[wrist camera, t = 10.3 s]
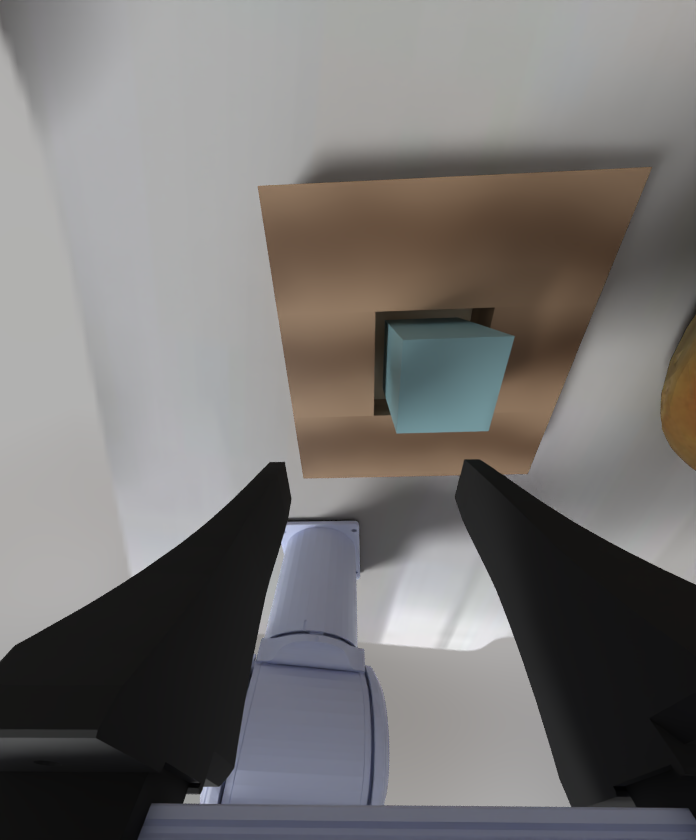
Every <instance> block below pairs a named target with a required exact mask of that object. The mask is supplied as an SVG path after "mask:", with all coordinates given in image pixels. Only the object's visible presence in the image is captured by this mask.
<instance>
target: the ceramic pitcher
mask: <svg viewBox="0 0 696 840" xmlns="http://www.w3.org/2000/svg"><path fill="white" fill-rule="evenodd" d="M660 414H661V421H662V430H663V432H664V434H665V437H666V439H667V441H668V443H669V444H670V446H671V448H672V449H673V450H674V451H675V453H676V454H677V455H678V456H679V457H680V458H681V459H682V460H683V461H684V462H685V463H687V464H688V465H689V466H690V467H691V468H693V469H694V470H695V471H696V315H695V317H694V318H693V320H692V321H691V322H690V324H689V325H688V327H687V329H686V331H685V333H684V335H683V337H682V339H681V341H680V343H679V345H678V347H677V349H676V350H675V352H674V354H673V356H672V358H671V360H670V364H669V368H668V371H667V375H666V379H665V382H664V386H663V390H662V394H661V412H660Z"/></svg>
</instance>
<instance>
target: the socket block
mask: <svg viewBox="0 0 696 840" xmlns="http://www.w3.org/2000/svg"><path fill="white" fill-rule="evenodd" d="M651 169H652V167H641V168H620V169H600V170H579V171H558V172H537V173H517V174H496V175H475V176H455V177H434V178H413V179H392V180H372V181H351V182H330V183H309V184H289V185H268V186H258V191H259V198H260V204H261V210H262V217H263V223H264V230H265V236H266V242H267V249H268V255H269V261H270V268H271V274H272V280H273V287H274V293H275V300H276V306H277V312H278V319H279V325H280V331H281V338H282V344H283V351H284V357H285V363H286V370H287V376H288V382H289V389H290V395H291V401H292V408H293V414H294V421H295V427H296V433H297V440H298V446H299V452H300V459H301V465H302V472H303V478H349V477H399V476H449V475H460V474H461V470H462V466H463V462H464V459H480V460H482V461H483V462H485V463H486V464H488V465H489V466H491V467H492V468H494V469H495V470H497V471H498V472H499V473H501V474H528V472H529V469H530V467H531V464H532V462H533V459H534V457H535V454H536V452H537V449H538V447H539V444H540V442H541V440H542V437H543V435H544V432H545V430H546V427H547V425H548V422H549V420H550V417H551V415H552V412H553V410H554V408H555V405H556V403H557V400H558V398H559V395H560V393H561V390H562V388H563V385H564V383H565V380H566V378H567V376H568V373H569V371H570V368H571V366H572V363H573V361H574V358H575V356H576V353H577V351H578V348H579V346H580V344H581V341H582V339H583V336H584V334H585V331H586V329H587V326H588V324H589V321H590V319H591V316H592V314H593V312H594V309H595V307H596V304H597V302H598V299H599V297H600V294H601V292H602V289H603V287H604V284H605V282H606V280H607V277H608V275H609V272H610V270H611V267H612V265H613V262H614V260H615V257H616V255H617V252H618V250H619V248H620V245H621V243H622V240H623V238H624V235H625V233H626V230H627V228H628V225H629V223H630V220H631V218H632V216H633V213H634V211H635V208H636V206H637V203H638V201H639V198H640V196H641V193H642V191H643V188H644V186H645V184H646V181H647V179H648V176H649V174H650V171H651ZM454 317H458V318H461V319H464V320H467V321H470V322H473V323H476V324H479V325H482V326H485V327H488V328H491V329H495V330H498V331H501V332H504V333H507V334H510V335H513V336H515V337H514V341H513V344H512V348H511V352H510V355H509V359H508V363H507V366H506V370H505V373H504V377H503V381H502V384H501V388H500V392H499V395H498V399H497V402H496V406H495V410H494V413H493V417H492V420H491V424H490V428H489V431H475V432H436V433H396V430H395V427H394V423H393V420H392V417H391V414H390V410H389V407H388V404H387V400H386V397H385V394H384V391H383V361H384V332H385V320H400V319H427V318H454Z"/></svg>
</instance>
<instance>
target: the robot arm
mask: <svg viewBox="0 0 696 840" xmlns="http://www.w3.org/2000/svg"><path fill="white" fill-rule="evenodd" d="M455 499H456V502H457V505H458V508H459V511H460V514H461V517H462V520H463V522H464V524H465V526H466V529H467V531H468V533H469V535H470V537H471V539H472V541H473V543H474V545H475V547H476V549H477V551H478V553H479V555H480V557H481V559H482V561H483V563H484V565H485V567H486V569H487V571H488V573H489V575H490V577H491V580H492V582H493V584H494V586H495V588H496V591H497V593H498V596H499V598H500V601H501V603H502V606H503V609H504V611H505V614H506V616H507V619H508V621H509V624H510V627H511V630H512V632H513V635H514V638H515V641H516V643H517V646H518V649H519V652H520V655H521V657H522V660H523V663H524V666H525V669H526V672H527V675H528V678H529V681H530V684H531V687H532V690H533V693H534V696H535V699H536V702H537V705H538V709H539V712H540V715H541V718H542V722H543V725H544V728H545V731H546V734H547V738H548V741H549V744H550V748H551V751H552V754H553V758H554V761H555V765H556V768H557V772H558V775H559V779H560V781H561V783H562V786H563V788H564V790H565V793H566V795H567V797H568V800H569V802H570V805H571V807H505V806H504V807H503V806H502V807H501V806H497V807H496V806H495V807H494V806H389V805H387V806H385V805H384V801H385V798H386V793H387V787H388V776H389V730H388V718H387V710H386V704H385V698H384V693H383V689H382V687H381V684H380V682H379V680H378V678H377V677H376V674H375V672H374V670H373V668H371V666H366V665H365V658H364V649H362V648H358V644H357V592H356V580H357V579H359V578H360V548H359V523H358V522H357V521H309V522H287V521H288V516H289V510H290V504H291V494H290V489H289V483H288V478H287V472H286V467H285V462H270V463H269V464H268V465H267V466H266V467H265V468H264V469H263V470H262V471H261V472H260V473H259V474H258V475H257V476H256V477H255V478H254V479H253V480H252V481H251V482H250V483H249V484H248V485H247V486H246V487H245V488H244V489H243V490H242V491H241V492H240V493H239V494H238V495H237V496H236V497H235V498H234V499H233V500H232V501H230V502H229V503H228V504H227V505H226V506H225V507H224V508H223V509H222V510H221V511H219V512H218V513H217V514H216V515H215V516H214V517H213V518H212V519H211V520H209V521H208V522H207V523H206V524H205V525H203V526H202V527H201V528H200V529H198V530H197V531H196V532H195V533H193V534H192V535H191V536H190V537H188V538H187V539H186V540H184V541H183V542H182V543H181V544H179V545H178V546H176V547H175V548H174V549H172V550H171V551H169V552H168V553H167V554H165V555H164V556H162V557H161V558H159V559H158V560H157V561H155V562H154V563H152V564H151V565H149V566H148V567H147V568H145V569H144V570H142V571H141V572H139V573H138V574H136V575H135V576H133V577H131V578H130V579H128V580H127V581H125V582H124V583H122V584H121V585H119V586H117V587H116V588H114V589H113V590H111V591H109V592H108V593H106V594H104V595H103V596H101V597H100V598H98V599H96V600H95V601H93V602H91V603H90V604H88V605H86V606H85V607H83V608H81V609H80V610H78V611H76V612H74V613H72V614H71V615H69V616H67V617H65V618H63V619H62V620H60V621H58V622H56V623H55V624H53V625H51V626H49V627H47V628H46V629H44V630H42V631H40V632H39V633H37V634H35V635H33V636H31V637H30V638H28V639H26V640H24V641H23V642H21V643H19V644H17V645H15V646H14V647H13V648H12V649H11V650H10V651H9V652H8V654H7V655H6V656H5V657H4V658H3V659H2V660H1V661H0V840H696V585H695V584H693V583H691V582H689V581H686V580H684V579H682V578H680V577H678V576H676V575H674V574H672V573H669V572H667V571H665V570H663V569H661V568H659V567H657V566H655V565H653V564H651V563H649V562H647V561H645V560H643V559H641V558H639V557H637V556H635V555H633V554H631V553H629V552H627V551H625V550H623V549H621V548H619V547H618V546H616V545H614V544H612V543H610V542H608V541H606V540H605V539H603V538H601V537H599V536H597V535H596V534H594V533H592V532H590V531H589V530H587V529H585V528H583V527H581V526H580V525H578V524H576V523H575V522H573V521H571V520H570V519H568V518H566V517H565V516H563V515H562V514H560V513H559V512H557V511H555V510H554V509H552V508H551V507H549V506H547V505H546V504H544V503H543V502H541V501H540V500H538V499H537V498H535V497H534V496H532V495H531V494H529V493H528V492H527V491H525V490H524V489H522V488H521V487H519V486H518V485H516V484H515V483H514V482H512V481H511V480H509V479H508V478H506V477H505V476H504V475H502V474H501V473H499V472H498V471H497V470H495V469H494V468H492V467H491V466H489V465H488V464H486V463H485V462H483V461H482V460H480V459H464V462H463V466H462V470H461V474H460V478H459V482H458V486H457V490H456V494H455ZM281 544H282V548H283V552H284V558H283V563H282V567H281V571H280V575H279V579H278V583H277V587H276V591H275V596H274V600H273V604H272V608H271V612H270V616H269V620H268V625H267V629H266V633H265V637H264V638H262V639H261V642H260V647H259V651H258V655H257V659H256V654H254V650H255V644H256V640H257V635H258V630H259V625H260V620H261V615H262V611H263V606H264V601H265V597H266V592H267V589H268V585H269V581H270V578H271V574H272V571H273V568H274V565H275V561H276V558H277V555H278V552H279V548H280V545H281ZM255 660H256V661H255ZM186 794H200V804H183V802H184V799H185V796H186Z"/></svg>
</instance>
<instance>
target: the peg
mask: <svg viewBox="0 0 696 840" xmlns="http://www.w3.org/2000/svg"><path fill="white" fill-rule="evenodd" d="M514 337H515V336H513V335H510V334H507V333H504V332H501V331H498V330H495V329H491V328H488V327H485V326H482V325H479V324H476V323H473V322H470V321H467V320H464V319H461V318H458V317H454V318H427V319H400V320H385V332H384V361H383V391H384V394H385V397H386V400H387V404H388V407H389V410H390V414H391V417H392V420H393V423H394V427H395V430H396V433H436V432H475V431H489V428H490V424H491V420H492V417H493V413H494V410H495V406H496V402H497V399H498V395H499V392H500V388H501V384H502V381H503V377H504V373H505V370H506V366H507V363H508V359H509V355H510V352H511V348H512V344H513V341H514Z"/></svg>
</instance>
